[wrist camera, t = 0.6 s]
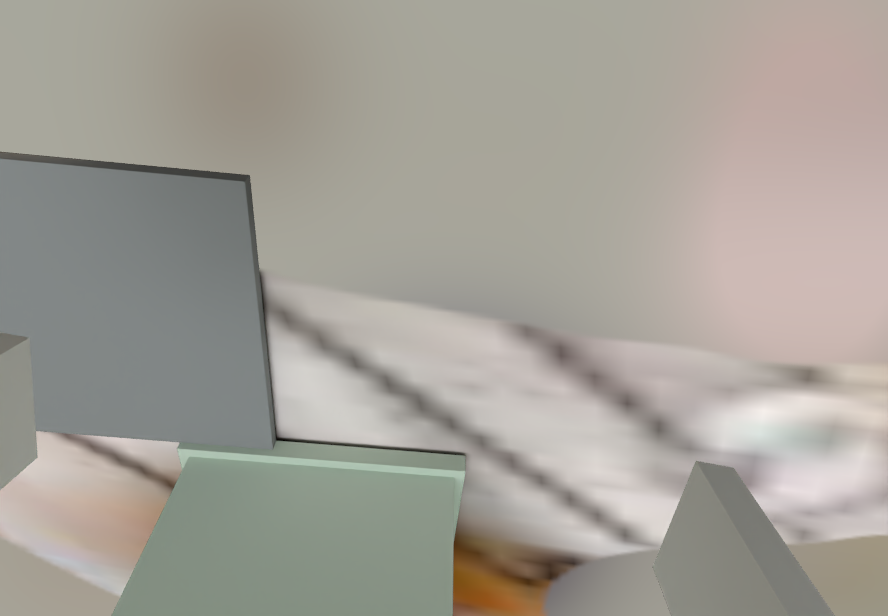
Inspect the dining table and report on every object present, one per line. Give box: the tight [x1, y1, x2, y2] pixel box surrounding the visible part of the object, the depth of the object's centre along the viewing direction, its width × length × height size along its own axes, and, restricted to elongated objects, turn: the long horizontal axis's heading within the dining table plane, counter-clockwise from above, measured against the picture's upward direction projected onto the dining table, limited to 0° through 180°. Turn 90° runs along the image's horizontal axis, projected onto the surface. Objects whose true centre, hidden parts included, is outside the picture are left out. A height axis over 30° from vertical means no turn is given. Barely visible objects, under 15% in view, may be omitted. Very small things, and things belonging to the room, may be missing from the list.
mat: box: [0, 152, 276, 450], centre depth 25 cm, size 14×18×1 cm
